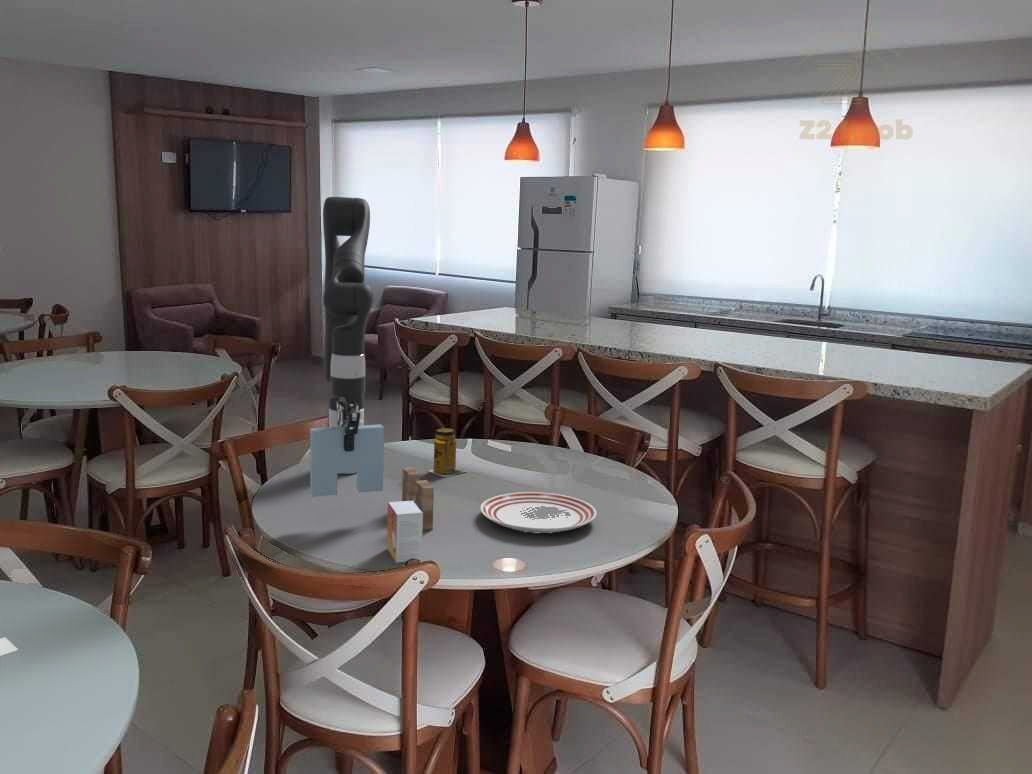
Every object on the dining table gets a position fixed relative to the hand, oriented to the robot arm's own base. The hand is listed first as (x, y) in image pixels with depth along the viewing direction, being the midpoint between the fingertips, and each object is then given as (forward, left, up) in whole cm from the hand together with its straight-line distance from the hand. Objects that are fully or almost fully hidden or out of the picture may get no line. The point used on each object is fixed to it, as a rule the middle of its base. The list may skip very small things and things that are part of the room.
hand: (347, 448), depth 197 cm
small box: (+22, +7, -18) cm, 29 cm away
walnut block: (+2, +16, -17) cm, 24 cm away
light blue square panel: (0, 0, -10) cm, 10 cm away
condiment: (-31, +35, -18) cm, 50 cm away
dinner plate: (+11, +43, -18) cm, 48 cm away
